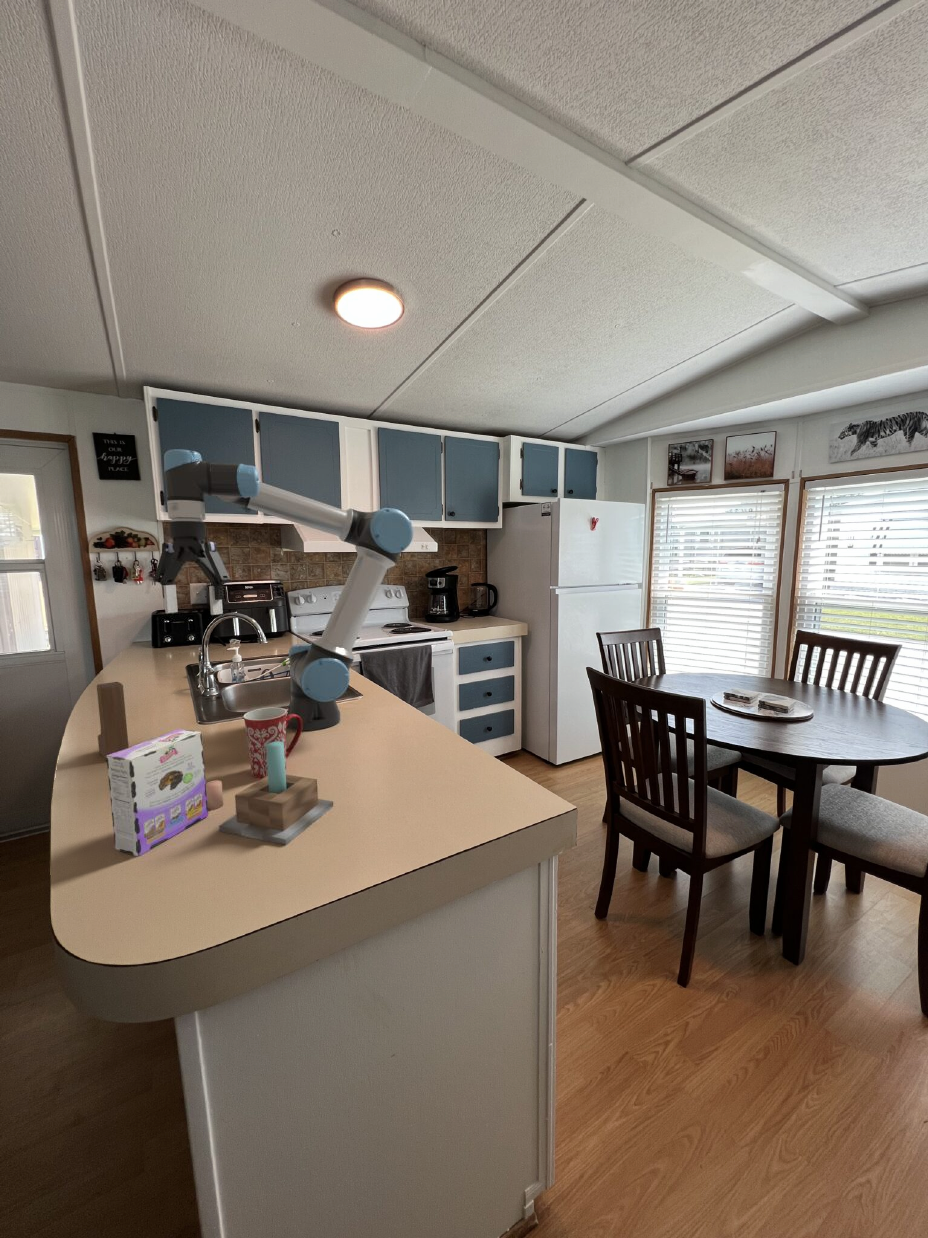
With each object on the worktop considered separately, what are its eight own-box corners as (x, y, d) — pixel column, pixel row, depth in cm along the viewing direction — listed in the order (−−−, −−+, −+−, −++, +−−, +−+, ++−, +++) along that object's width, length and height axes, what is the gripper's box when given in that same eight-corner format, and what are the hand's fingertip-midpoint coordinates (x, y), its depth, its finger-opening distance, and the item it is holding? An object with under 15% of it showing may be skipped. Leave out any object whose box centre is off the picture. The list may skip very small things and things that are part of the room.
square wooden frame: (273, 795, 103) (271, 767, 102) (333, 806, 98) (332, 776, 97) (219, 831, 90) (217, 798, 89) (286, 845, 85) (284, 811, 84)
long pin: (278, 813, 96) (273, 740, 94) (291, 815, 95) (287, 742, 93) (267, 820, 93) (262, 746, 91) (280, 823, 92) (276, 748, 90)
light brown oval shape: (214, 801, 101) (213, 779, 100) (226, 803, 100) (225, 781, 99) (202, 808, 98) (200, 786, 97) (214, 810, 97) (213, 788, 96)
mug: (254, 784, 108) (250, 722, 106) (241, 770, 115) (237, 712, 113) (311, 768, 116) (309, 710, 114) (296, 756, 123) (293, 701, 121)
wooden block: (98, 752, 127) (91, 681, 124) (120, 747, 130) (113, 678, 128) (107, 762, 120) (100, 687, 118) (129, 756, 124) (123, 684, 121)
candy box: (186, 811, 97) (179, 727, 95) (209, 817, 95) (203, 731, 93) (113, 850, 84) (104, 754, 82) (138, 857, 82) (129, 759, 80)
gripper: (131, 521, 117) (139, 613, 120) (217, 518, 109) (224, 616, 112) (160, 523, 124) (167, 610, 127) (243, 520, 116) (248, 613, 119)
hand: (193, 613), depth 119 cm, fingers open, 13 cm apart
